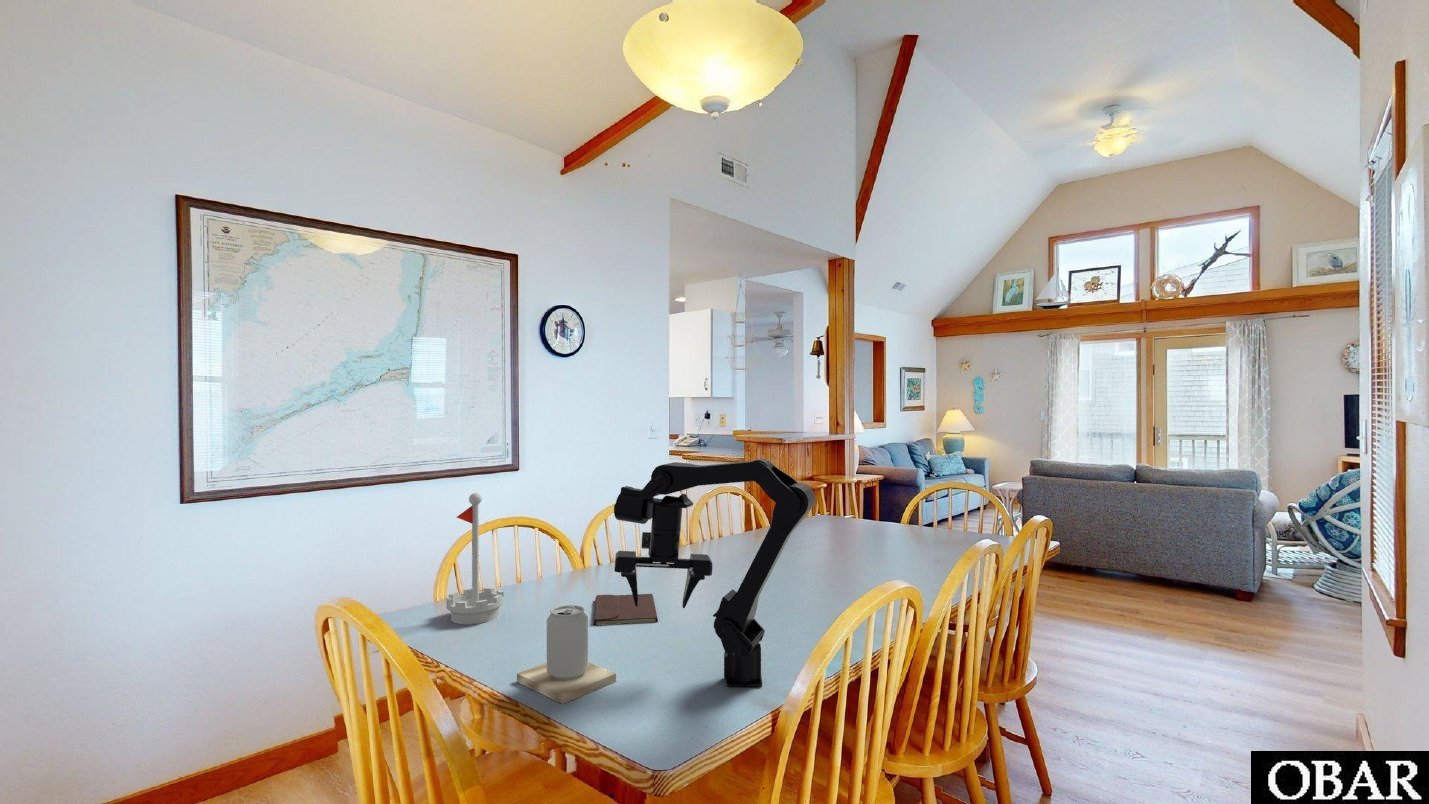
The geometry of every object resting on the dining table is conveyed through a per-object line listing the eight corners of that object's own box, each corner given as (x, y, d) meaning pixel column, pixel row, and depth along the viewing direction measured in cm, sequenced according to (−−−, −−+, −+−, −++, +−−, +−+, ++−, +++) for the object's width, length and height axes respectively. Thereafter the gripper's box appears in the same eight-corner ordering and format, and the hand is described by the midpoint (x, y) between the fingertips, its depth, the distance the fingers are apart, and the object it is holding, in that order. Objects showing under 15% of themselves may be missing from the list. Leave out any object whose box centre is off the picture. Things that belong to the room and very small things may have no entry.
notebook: (653, 599, 176) (652, 592, 176) (657, 624, 157) (657, 615, 157) (595, 602, 174) (595, 594, 174) (593, 627, 154) (593, 619, 154)
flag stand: (481, 605, 170) (481, 488, 170) (514, 614, 163) (514, 492, 162) (434, 619, 159) (434, 494, 159) (468, 629, 152) (468, 498, 152)
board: (516, 681, 123) (516, 673, 123) (569, 662, 132) (569, 654, 132) (562, 703, 114) (562, 695, 114) (616, 681, 123) (616, 673, 123)
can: (538, 678, 121) (538, 612, 121) (561, 663, 128) (561, 601, 128) (573, 684, 118) (573, 617, 118) (595, 668, 125) (595, 605, 125)
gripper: (708, 520, 138) (702, 594, 139) (618, 516, 136) (612, 591, 136) (715, 533, 127) (709, 613, 128) (617, 528, 125) (611, 610, 125)
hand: (660, 606), depth 130 cm, fingers open, 9 cm apart
